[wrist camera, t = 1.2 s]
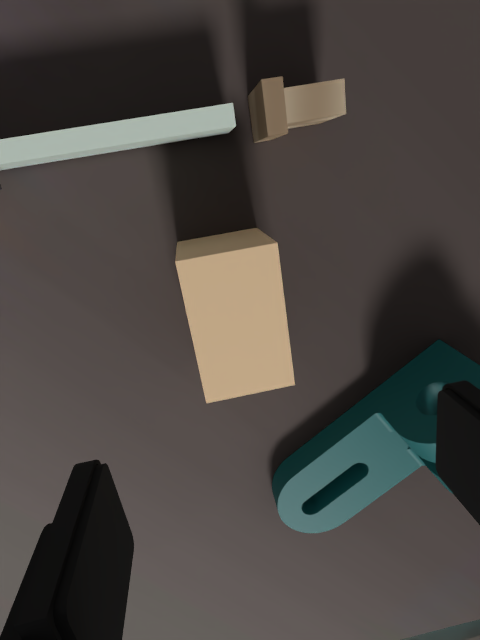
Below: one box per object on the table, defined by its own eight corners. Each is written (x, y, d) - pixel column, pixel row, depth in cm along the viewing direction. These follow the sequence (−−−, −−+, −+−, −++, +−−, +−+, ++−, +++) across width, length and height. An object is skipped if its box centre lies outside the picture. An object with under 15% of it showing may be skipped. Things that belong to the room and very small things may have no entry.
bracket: (437, 337, 29) (521, 392, 22) (477, 393, 32) (565, 460, 24) (254, 480, 32) (275, 572, 24) (304, 523, 34) (337, 618, 27)
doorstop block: (256, 227, 25) (277, 242, 19) (272, 342, 28) (294, 384, 22) (177, 241, 24) (175, 261, 19) (202, 356, 27) (206, 403, 22)
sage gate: (225, 113, 22) (232, 102, 19) (231, 152, 23) (239, 148, 19) (-57, 158, 21) (-102, 155, 18) (-42, 197, 22) (-82, 201, 18)
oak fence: (316, 85, 22) (345, 66, 18) (320, 131, 23) (348, 123, 19) (-147, 157, 21) (-224, 154, 17) (-124, 205, 21) (-193, 212, 17)
